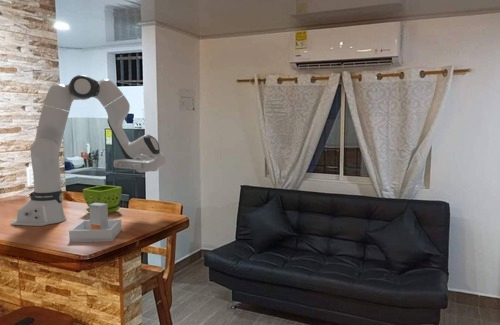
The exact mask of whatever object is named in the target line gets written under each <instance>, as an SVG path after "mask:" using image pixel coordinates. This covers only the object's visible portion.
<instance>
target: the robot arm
mask: <svg viewBox="0 0 500 325" xmlns="http://www.w3.org/2000/svg"><path fill="white" fill-rule="evenodd" d="M91 98H95V99H97V100H98V101H99V103H100V104H101V105H102V107H103V108H104V109H105V112H106V114H107V124H108V127H109V128H110V131H111V133H112V135H113V137H114V138H115V141H116V142H117V144H118V146H119V148H120V150H121V153H122V155H123V158H121V159H114V160H113V168H116V169H128V170H129V169H130V170H135V171H136V172H137V173H142V174H144V173H147V172H157V171H158V170H160V169H162V168H164V166H166V162H167V157H166V155H165V154H164V153H163V152H162V151H161V150H160V145H159V142H158V140H157V139H156V138H155V137H154V136H152V135H150V134H144V135H142V136H140V137H138V138H137V139H135V140H134V141H132V142H131V141H130V140H129V137H128V136H127V134H126V132H125V130H124V128H123V123H124V121H125V119H126V118H127V117H128V115H129V112H130V109H131V107H130V103H129V100H128V99H127V97H126V96H125V95H124V93H123V92H122V91H121V89H120V88H119V87H118V86H117V85H116V83H114V81H112V80H111V79H108V78H102V79H101V80H98V81H97V80H95V79H94V78H92V77H90V76H88V75H84V74H78V75H75V76H74V77H72V78H71V79H70V82H69V83H68V84H62V83H55V84H52V85H51V86H50V87H49V89H48V90H47V93H46V96H45V98H44V101H43V104H42V108H41V113H40V114H39V120H38V125H37V129H36V134H35V138H34V139H35V140H34V141H32V144H31V146H30V158H31V159H30V160H31V168H32V175H33V189H34V190H33V191H32V192H31V193H30V194H28V197H29V198H30V200H29V201H27V202H25V204H23V205H22V206H20V208H18V210H17V214H16V218H15V219H13V220H12V221H10V224H11V226H30V227H34V226H35V227H42V226H46V225H53V224H59V223H61V222H64V221H66V220H67V217H66V214H65V210H64V206H63V197H64V196H63V190H62V185H61V184H62V183H61V168H60V155H59V154H60V150H61V146H62V142H63V138H64V134H65V129H66V127H67V122H68V118H69V114H70V110H71V108H72V104H73V102H74V101H75V100H78V101H79V100H82V101H86V100H88V99H91Z"/></svg>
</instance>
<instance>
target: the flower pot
mask: <svg viewBox="0 0 500 325" xmlns="http://www.w3.org/2000/svg"><path fill="white" fill-rule="evenodd" d="M122 189H123V188H122V186H117V185H108V184H107V185H105V184H103V185H98V186H93V187H88V188H87V187H86V188H84V189H82V195H83V197H84V202H85V203H86V206H88V208H85V210H86V211H87V212H88V213H90V211H89V205H90V204H93V203H104V204H108V214H112V213H115V212H118V211H119V209H120V208H121V206H118V205H119V203H120V201H121V198H122Z"/></svg>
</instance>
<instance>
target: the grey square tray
mask: <svg viewBox="0 0 500 325" xmlns="http://www.w3.org/2000/svg"><path fill="white" fill-rule="evenodd" d="M122 227H123V226H122V219H108V229H99V230H90V219H83V220H81V221H80V222H79V223H78V224H75V225H74V226H73V227H72V228H70V230H68V234H69V236H68V237H69V238H68V239H69V243H80V242H81V243H82V242H83V243H87V242H92V243H93V241H94V242H96V243H97V242H113V240H114V239H115V238H116V237H117V236H118V235H119V234H120V233H121V231H122V230H123V229H122Z"/></svg>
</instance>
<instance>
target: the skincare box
mask: <svg viewBox="0 0 500 325" xmlns="http://www.w3.org/2000/svg"><path fill="white" fill-rule="evenodd" d="M88 208H89V211H90V212H89V220H90V230H99V229H108V220H109V213H108V204H104V203H93V204H90V205H89V207H88Z"/></svg>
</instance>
